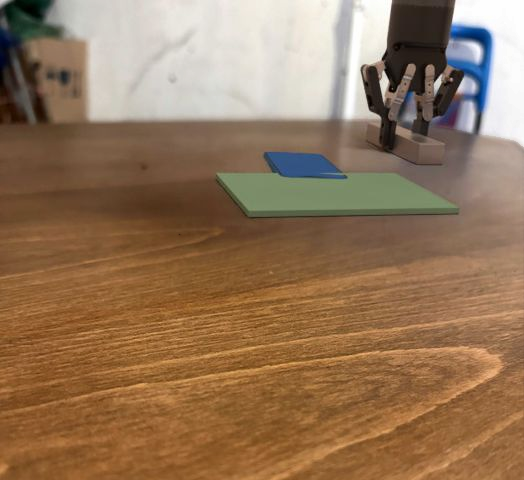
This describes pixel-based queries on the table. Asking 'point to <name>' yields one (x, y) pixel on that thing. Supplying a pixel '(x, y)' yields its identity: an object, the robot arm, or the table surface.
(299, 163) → the smartphone
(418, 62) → the robot arm
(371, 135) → the strip
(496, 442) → the table surface
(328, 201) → the mat
